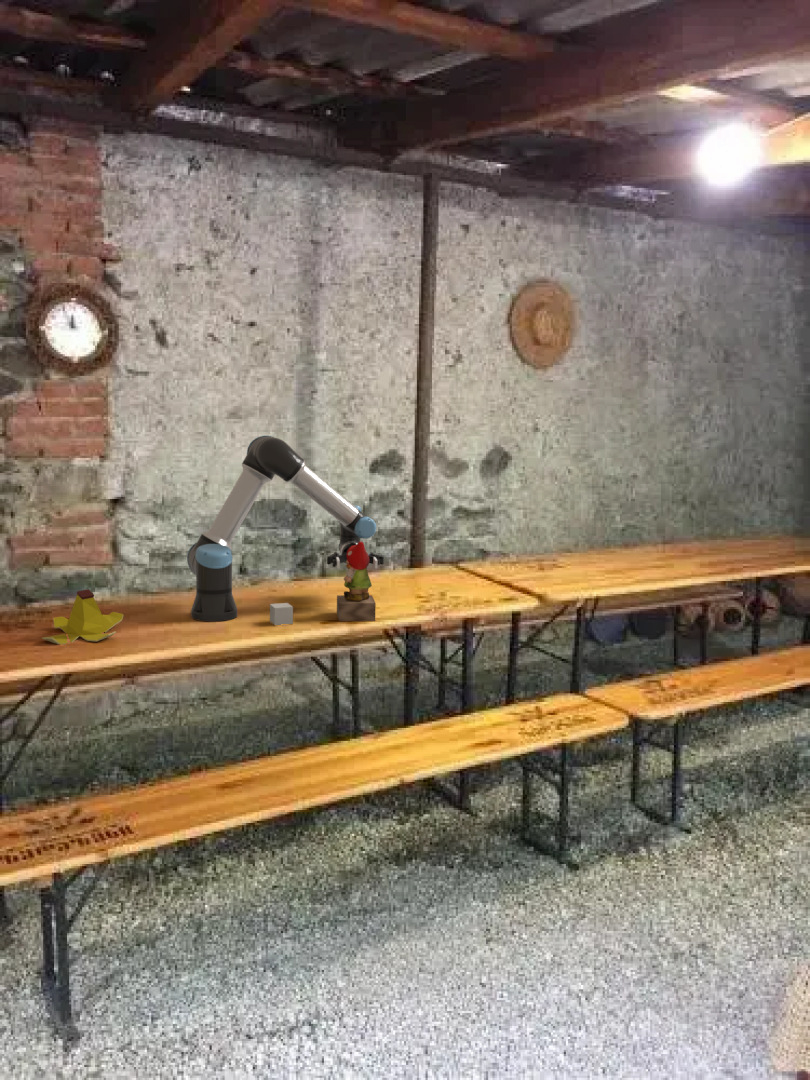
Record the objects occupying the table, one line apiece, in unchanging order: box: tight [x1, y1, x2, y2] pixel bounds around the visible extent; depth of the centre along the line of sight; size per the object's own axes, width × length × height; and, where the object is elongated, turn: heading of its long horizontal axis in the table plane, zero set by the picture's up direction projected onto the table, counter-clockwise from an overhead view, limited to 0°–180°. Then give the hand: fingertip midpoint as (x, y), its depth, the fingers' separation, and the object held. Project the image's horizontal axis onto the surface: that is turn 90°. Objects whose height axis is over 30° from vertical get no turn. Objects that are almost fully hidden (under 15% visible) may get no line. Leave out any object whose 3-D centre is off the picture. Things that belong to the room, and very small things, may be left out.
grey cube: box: [269, 602, 294, 626], centre depth 318 cm, size 6×6×6 cm
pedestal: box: [336, 594, 377, 622], centre depth 330 cm, size 12×12×6 cm
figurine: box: [343, 540, 373, 601], centre depth 327 cm, size 11×9×20 cm
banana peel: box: [41, 589, 124, 645], centre depth 297 cm, size 25×27×15 cm
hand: (357, 564), depth 323 cm, fingers open, 12 cm apart
